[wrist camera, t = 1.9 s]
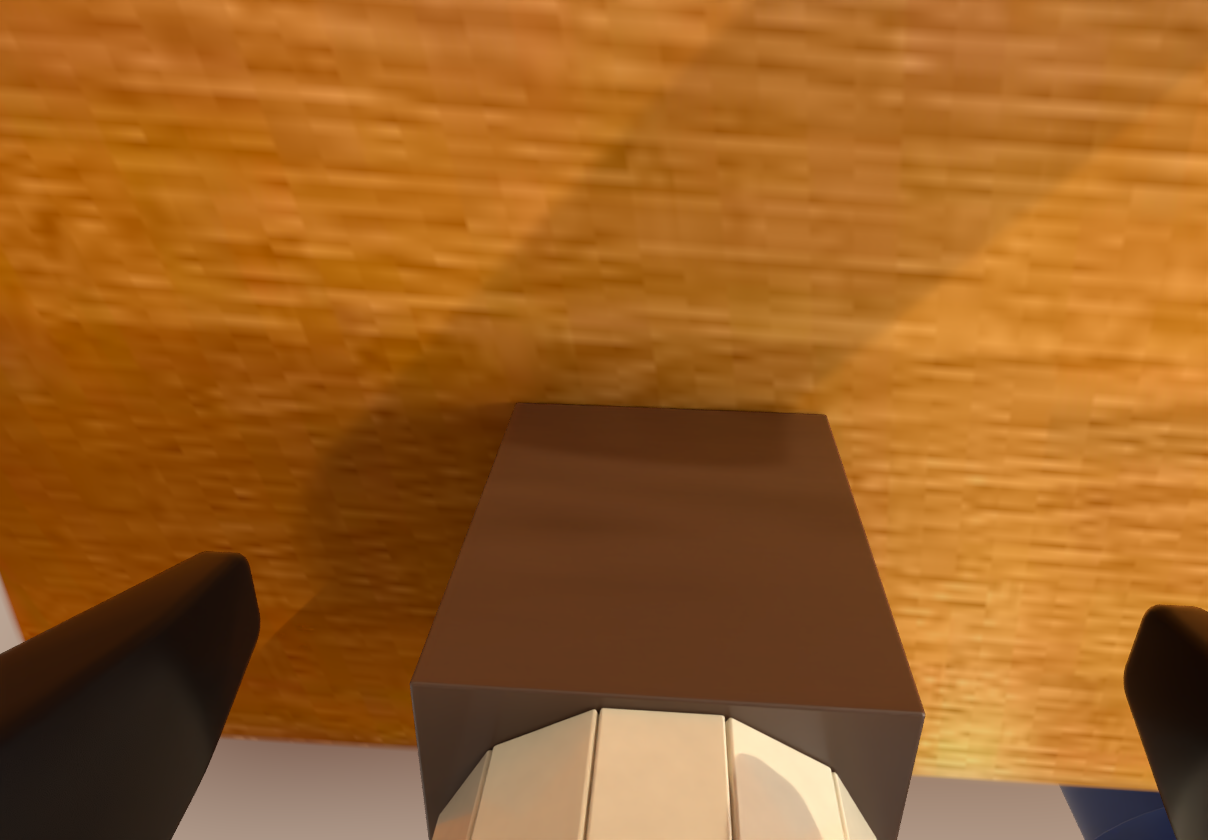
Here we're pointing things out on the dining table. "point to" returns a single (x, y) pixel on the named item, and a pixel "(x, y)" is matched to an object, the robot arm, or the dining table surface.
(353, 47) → the dining table surface
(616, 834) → the cream cup
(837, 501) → the stand
